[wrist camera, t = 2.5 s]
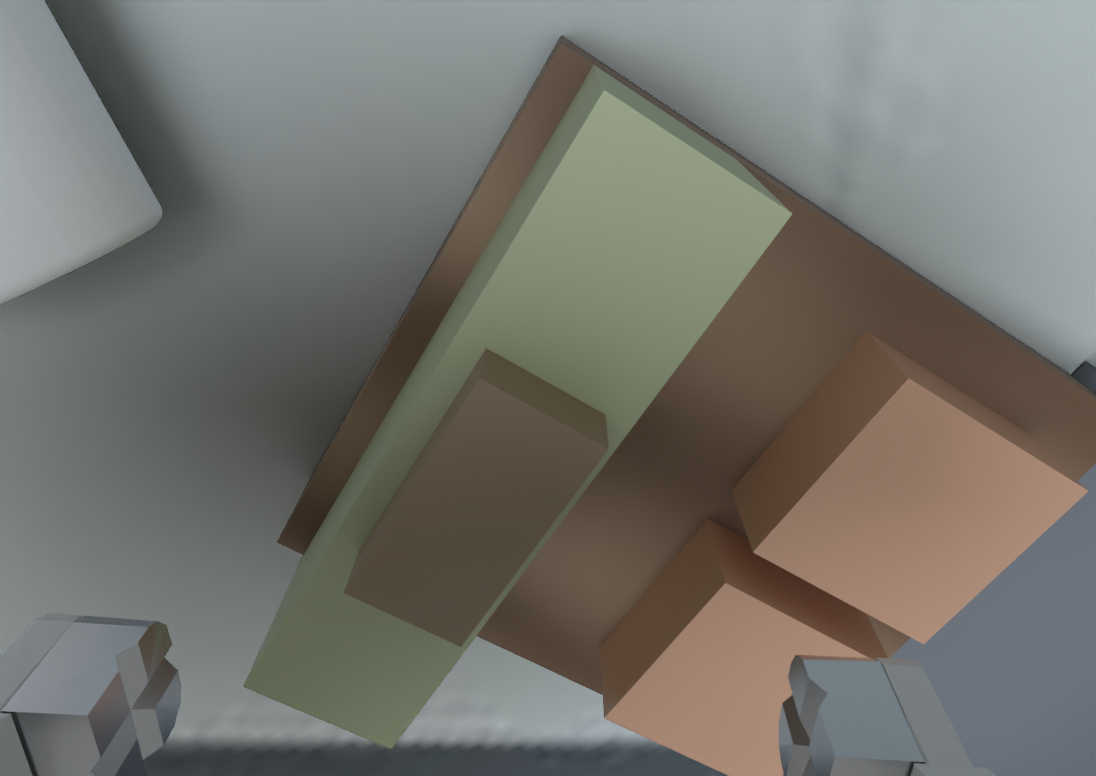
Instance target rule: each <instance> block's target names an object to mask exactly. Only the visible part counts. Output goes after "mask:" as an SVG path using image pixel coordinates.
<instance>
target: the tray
mask: <svg viewBox="0 0 1096 776" xmlns="http://www.w3.org/2000/svg"><path fill="white" fill-rule="evenodd" d="M1072 377H1074V378H1075V379H1076V380H1078V381H1079V382H1080V383H1081V384H1083V385H1084V386H1085V387H1087V388H1088V389H1089V390H1091V391H1092V392H1093V393H1095V394H1096V368H1095V367H1094V366H1092V365H1091V364H1089V363H1088V362H1085V363H1084V364H1083V365H1082V366H1081V367H1080V368H1079V369H1078V370H1077V371H1076V372H1075V373H1074V374H1073V375H1072ZM1078 481H1079V482H1080V483H1081V484H1082V485H1083V486H1084V487H1085V488H1086V489H1087V490H1088V492H1087V493H1086V494H1085V495H1084V496H1083V497H1082V498H1081V499H1080V500H1079V501H1078V502H1077V503H1075V504H1074V505H1073V506H1072V507H1071V508H1070V509H1069V510H1068V511H1067V512H1066V513H1065V514H1064V515H1063V516H1061V517H1060V518H1059V519H1058V520H1057V521H1056V522H1055V523H1054V524H1053V525H1052V526H1051V527H1050V528H1049V529H1047V530H1046V531H1045V532H1044V533H1043V534H1042V535H1041V536H1040V537H1039V538H1038V539H1037V540H1036V541H1035V542H1033V543H1032V544H1031V545H1030V546H1029V547H1028V548H1027V549H1026V550H1025V551H1024V552H1023V553H1022V554H1021V555H1019V556H1018V557H1017V558H1016V559H1015V560H1014V561H1013V562H1012V563H1011V564H1010V565H1009V566H1008V567H1007V568H1005V569H1004V570H1003V571H1002V572H1001V573H1000V574H999V575H998V576H997V577H996V578H995V579H994V580H993V581H991V582H990V583H989V584H988V585H987V586H986V587H985V588H984V589H983V590H982V591H981V592H980V593H979V594H977V595H976V596H975V597H974V598H973V599H972V600H971V601H970V602H969V603H968V604H967V605H966V606H965V607H963V608H962V609H961V610H960V611H959V612H958V613H957V614H956V615H955V616H954V617H953V618H952V619H951V620H949V621H948V622H947V623H946V624H945V625H944V626H943V627H942V628H941V629H940V630H939V631H938V632H937V633H935V634H934V635H933V636H932V637H931V638H930V639H929V640H928V641H927V642H926V643H925V644H922V643H920V642H919V641H917V640H915V639H913V638H910V639H909V640H908V641H907V642H906V643H905V644H904V645H903V646H902V647H900V648H899V649H898V650H897V651H896V652H895V653H894V654H893V655H892V656H891V657H890V658H893V659H915V660H916V661H918V662H919V663H920V664H921V665H922V666H923V668H924V670H925V672H926V674H927V676H928V678H929V680H930V682H931V684H932V686H933V688H934V690H935V692H936V694H937V696H938V698H939V700H940V702H941V704H942V705H943V707H944V709H945V711H946V713H947V715H948V717H949V719H950V721H951V723H952V725H953V727H954V729H955V731H956V733H957V735H958V737H959V739H960V741H961V743H962V745H963V747H964V749H965V751H966V753H967V755H968V756H969V758H970V760H971V762H972V764H973V766H974V767H983V768H987V769H988V770H990V771H991V772H992V773H994V774H995V775H996V776H1096V464H1095V465H1094V466H1093V467H1092V468H1091V469H1090V470H1089V471H1087V472H1086V473H1085V474H1084V475H1083V476H1082V477H1081V478H1080V479H1079V480H1078ZM782 776H784V775H782Z"/></svg>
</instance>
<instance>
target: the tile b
mask: <svg viewBox="0 0 1096 776" xmlns="http://www.w3.org/2000/svg"><path fill="white" fill-rule="evenodd" d="M1087 492H1088V490H1087V489H1086V488H1085V487H1084V486H1083V485H1082V484H1081V483H1080V482H1079V481H1078V480H1076V479H1075V478H1074V477H1073V476H1072V475H1071V474H1070V473H1069V472H1068V471H1067V470H1066V469H1065V468H1064V467H1063V466H1062V465H1061V464H1060V463H1059V462H1058V461H1057V460H1055V459H1054V458H1053V457H1052V456H1051V455H1050V454H1049V453H1048V452H1047V451H1046V450H1045V449H1044V448H1043V447H1042V446H1041V445H1040V444H1039V443H1038V442H1037V441H1035V440H1034V439H1033V438H1032V437H1031V436H1030V435H1029V434H1028V433H1027V432H1025V431H1023V430H1022V429H1020V428H1019V427H1017V426H1016V425H1014V424H1012V423H1011V422H1009V421H1008V420H1006V419H1005V418H1003V417H1001V416H1000V415H998V414H997V413H995V412H994V411H992V410H990V409H989V408H987V407H986V406H984V405H982V404H981V403H979V402H978V401H976V400H975V399H973V398H971V397H970V396H968V395H967V394H965V393H964V392H962V391H960V390H959V389H957V388H956V387H954V386H953V385H951V384H949V383H948V382H946V381H945V380H943V379H942V378H940V377H938V376H937V375H935V374H934V373H932V372H931V371H929V370H927V369H926V368H924V367H923V366H921V365H919V364H918V363H916V362H915V361H913V360H912V359H910V358H908V357H907V356H905V355H904V354H902V353H901V352H899V351H897V350H896V349H894V348H893V347H891V346H890V345H888V344H886V343H885V342H883V341H882V340H880V339H879V338H877V337H875V336H874V335H872V334H871V333H869V332H868V331H866V332H865V333H864V334H863V335H862V336H861V338H860V339H859V340H858V341H857V342H856V344H855V345H854V346H853V347H852V348H851V349H850V351H849V352H848V353H847V354H846V355H845V357H844V358H843V359H842V360H841V361H840V362H839V364H838V365H837V366H836V367H835V368H834V370H833V371H832V372H831V373H830V374H829V375H828V377H827V378H826V379H825V380H824V381H823V383H822V384H821V385H820V386H819V387H818V388H817V390H816V391H815V392H814V393H813V394H812V396H811V397H810V398H809V399H808V400H807V402H806V403H805V404H804V405H803V406H802V407H801V409H800V410H799V411H798V412H797V413H796V415H795V416H794V417H793V418H792V419H791V420H790V422H789V423H788V424H787V425H786V426H785V428H784V429H783V430H782V431H781V432H780V433H779V435H778V436H777V437H776V438H775V439H774V441H773V442H772V443H771V444H770V445H769V447H768V448H767V449H766V450H765V451H764V452H763V454H762V455H761V456H760V457H759V458H758V460H757V461H756V462H755V463H754V464H753V465H752V467H751V468H750V469H749V470H748V471H747V473H746V474H745V475H744V476H743V477H742V478H741V480H740V481H739V482H738V483H737V484H736V486H735V487H734V488H733V489H732V493H733V496H734V498H735V501H736V504H737V507H738V510H739V513H740V516H741V519H742V522H743V525H744V528H745V531H746V534H747V537H748V540H749V543H750V546H751V549H752V551H753V553H755V554H757V555H759V556H761V557H762V558H764V559H766V560H768V561H770V562H772V563H774V564H775V565H777V566H779V567H781V568H783V569H785V570H787V571H788V572H790V573H792V574H794V575H796V576H798V577H800V578H801V579H803V580H805V581H807V582H809V583H811V584H813V585H814V586H816V587H818V588H820V589H822V590H824V591H826V592H827V593H829V594H831V595H833V596H835V597H837V598H839V599H840V600H842V601H844V602H846V603H848V604H850V605H852V606H853V607H855V608H857V609H859V610H861V611H863V612H865V613H866V614H868V615H870V616H872V617H874V618H876V619H878V620H879V621H881V622H883V623H885V624H887V625H889V626H891V627H893V628H894V629H896V630H898V631H900V632H902V633H904V634H906V635H907V636H909V637H911V638H913V639H915V640H917V641H919V642H920V643H922V644H925V643H926V642H927V641H928V640H929V639H930V638H931V637H932V636H933V635H934V634H935V633H937V632H938V631H939V630H940V629H941V628H942V627H943V626H944V625H945V624H946V623H947V622H948V621H949V620H951V619H952V618H953V617H954V616H955V615H956V614H957V613H958V612H959V611H960V610H961V609H962V608H963V607H965V606H966V605H967V604H968V603H969V602H970V601H971V600H972V599H973V598H974V597H975V596H976V595H977V594H979V593H980V592H981V591H982V590H983V589H984V588H985V587H986V586H987V585H988V584H989V583H990V582H991V581H993V580H994V579H995V578H996V577H997V576H998V575H999V574H1000V573H1001V572H1002V571H1003V570H1004V569H1005V568H1007V567H1008V566H1009V565H1010V564H1011V563H1012V562H1013V561H1014V560H1015V559H1016V558H1017V557H1018V556H1019V555H1021V554H1022V553H1023V552H1024V551H1025V550H1026V549H1027V548H1028V547H1029V546H1030V545H1031V544H1032V543H1033V542H1035V541H1036V540H1037V539H1038V538H1039V537H1040V536H1041V535H1042V534H1043V533H1044V532H1045V531H1046V530H1047V529H1049V528H1050V527H1051V526H1052V525H1053V524H1054V523H1055V522H1056V521H1057V520H1058V519H1059V518H1060V517H1061V516H1063V515H1064V514H1065V513H1066V512H1067V511H1068V510H1069V509H1070V508H1071V507H1072V506H1073V505H1074V504H1075V503H1077V502H1078V501H1079V500H1080V499H1081V498H1082V497H1083V496H1084V495H1085V494H1086V493H1087Z"/></svg>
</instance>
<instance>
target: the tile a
mask: <svg viewBox="0 0 1096 776" xmlns="http://www.w3.org/2000/svg"><path fill="white" fill-rule="evenodd" d="M600 654H601V671H602V688H603V705H604V719H607V720H609V721H611V722H613V723H615V724H617V725H620V726H622V727H624V728H626V729H628V730H631V731H633V732H635V733H637V734H639V735H641V736H644V737H646V738H648V739H650V740H652V741H654V742H657V743H659V744H661V745H663V746H665V747H667V748H670V749H672V750H674V751H676V752H678V753H680V754H683V755H685V756H687V757H689V758H691V759H693V760H696V761H698V762H700V763H702V764H704V765H707V766H709V767H711V768H713V769H715V770H717V771H720V772H722V773H724V774H726V775H728V776H782V775H784V773H783V769H782V764H781V759H780V751H779V718H780V713H781V707H782V703H783V702H784V701H785V700H787V699H788V698H789V697H790V696H791V695H793V694H792V690H791V687H790V683H789V680H788V674H789V670H790V666H791V662H792V660H793V659H794V657H795V655H815V656H838V657H860V658H872V659H874V658H888V657H887V655H886V653H885V651H884V649H883V647H882V644H881V642H880V640H879V638H878V636H877V634H876V632H875V630H874V628H873V626H872V624H871V622H870V620H869V618H868V616H867V614H866V613H865V612H863V611H861V610H859V609H857V608H855V607H853V606H852V605H850V604H848V603H846V602H844V601H842V600H840V599H839V598H837V597H835V596H833V595H831V594H829V593H827V592H826V591H824V590H822V589H820V588H818V587H816V586H814V585H813V584H811V583H809V582H807V581H805V580H803V579H801V578H800V577H798V576H796V575H794V574H792V573H790V572H788V571H787V570H785V569H783V568H781V567H779V566H777V565H775V564H774V563H772V562H770V561H768V560H766V559H764V558H762V557H761V556H759V555H757V554H755V553H753V551H752V549H751V546H750V543H749V541H748V540H747V539H745V538H743V537H741V536H739V535H737V534H735V533H734V532H732V531H730V530H728V529H726V528H724V527H723V526H721V525H719V524H717V523H715V522H713V521H711V520H710V519H707V520H706V521H705V522H704V523H703V525H702V526H701V527H700V528H699V529H698V531H697V532H696V533H695V534H694V535H693V536H692V538H691V539H690V540H689V541H688V542H687V544H686V545H685V546H684V547H683V548H682V550H681V551H680V552H679V553H678V554H677V555H676V557H675V558H674V559H673V560H672V561H671V563H670V564H669V565H668V566H667V567H666V568H665V570H664V571H663V572H662V573H661V574H660V576H659V577H658V578H657V579H656V580H655V581H654V583H653V584H652V585H651V586H650V587H649V589H648V590H647V591H646V592H645V593H644V594H643V596H642V597H641V598H640V599H639V600H638V602H637V603H636V604H635V605H634V606H633V608H632V609H631V610H630V611H629V612H628V613H627V615H626V616H625V617H624V618H623V619H622V621H621V622H620V623H619V624H618V625H617V626H616V628H615V629H614V630H613V631H612V632H611V634H610V635H609V636H608V637H607V638H606V639H605V641H604V642H603V643H602V644H601V645H600Z"/></svg>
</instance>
